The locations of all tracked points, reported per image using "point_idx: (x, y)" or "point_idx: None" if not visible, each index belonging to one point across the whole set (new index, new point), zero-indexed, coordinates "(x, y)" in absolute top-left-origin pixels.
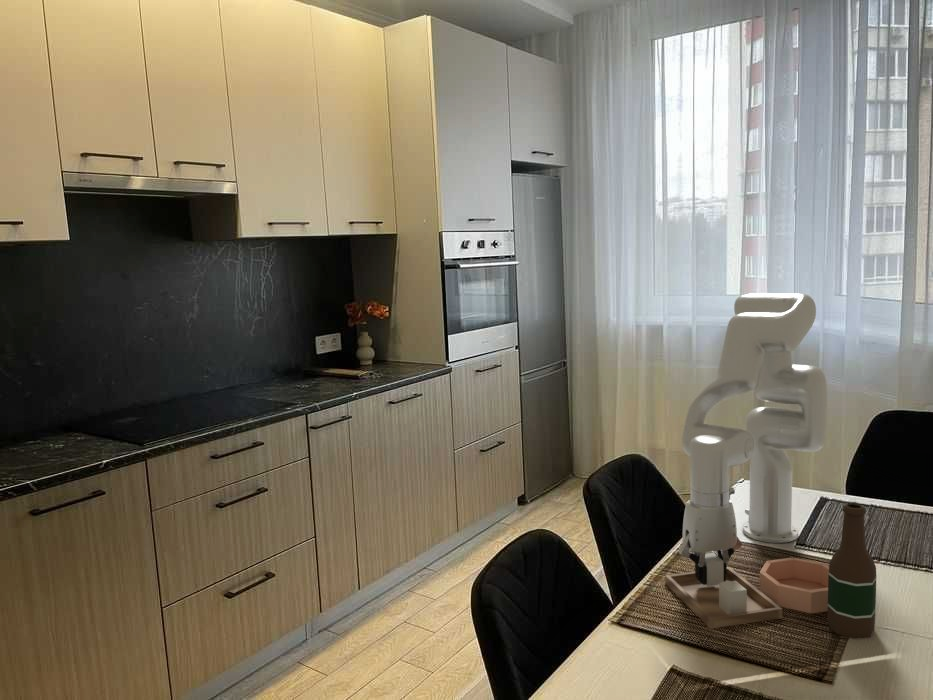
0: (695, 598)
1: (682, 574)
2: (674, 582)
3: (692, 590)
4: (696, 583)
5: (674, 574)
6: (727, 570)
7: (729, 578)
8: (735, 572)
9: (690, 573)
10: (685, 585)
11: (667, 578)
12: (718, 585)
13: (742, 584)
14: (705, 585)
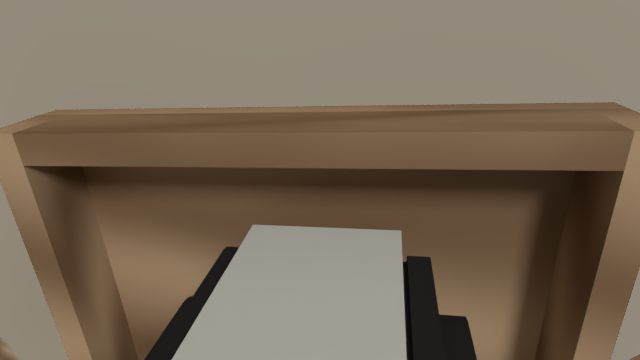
0: None
1: (129, 159)
2: (43, 257)
3: (199, 255)
4: (264, 175)
5: (61, 139)
6: (607, 164)
7: (571, 171)
8: (631, 255)
9: (204, 160)
10: (175, 183)
11: (5, 171)
12: (406, 247)
13: (555, 350)
14: (315, 220)
